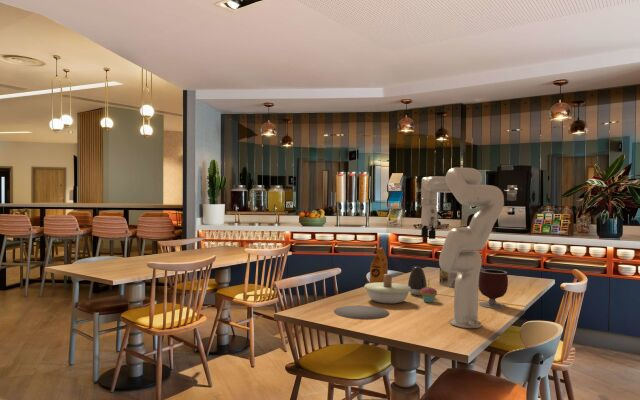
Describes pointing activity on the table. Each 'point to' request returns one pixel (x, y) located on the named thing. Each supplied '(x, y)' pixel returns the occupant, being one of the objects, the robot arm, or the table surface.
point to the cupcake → (428, 293)
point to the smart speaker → (417, 280)
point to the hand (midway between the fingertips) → (428, 237)
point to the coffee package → (378, 266)
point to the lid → (387, 286)
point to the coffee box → (447, 278)
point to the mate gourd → (492, 286)
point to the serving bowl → (387, 297)
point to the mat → (361, 312)
